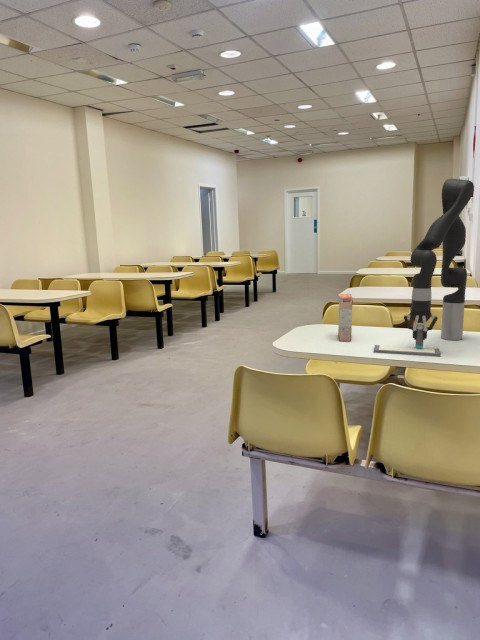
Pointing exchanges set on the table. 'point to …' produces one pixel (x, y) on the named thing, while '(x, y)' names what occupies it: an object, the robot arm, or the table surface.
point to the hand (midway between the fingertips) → (419, 339)
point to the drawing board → (406, 350)
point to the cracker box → (345, 317)
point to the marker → (419, 336)
